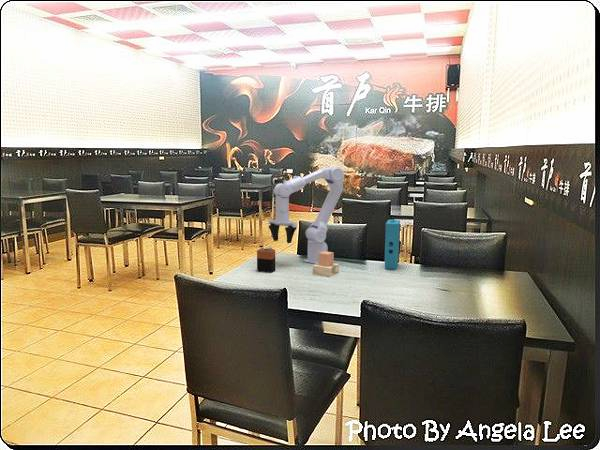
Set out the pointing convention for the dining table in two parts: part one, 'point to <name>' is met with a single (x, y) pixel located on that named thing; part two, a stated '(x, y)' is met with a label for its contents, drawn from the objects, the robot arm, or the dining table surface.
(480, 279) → the dining table surface
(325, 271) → the maple block
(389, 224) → the block
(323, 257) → the terracotta block
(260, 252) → the battery
